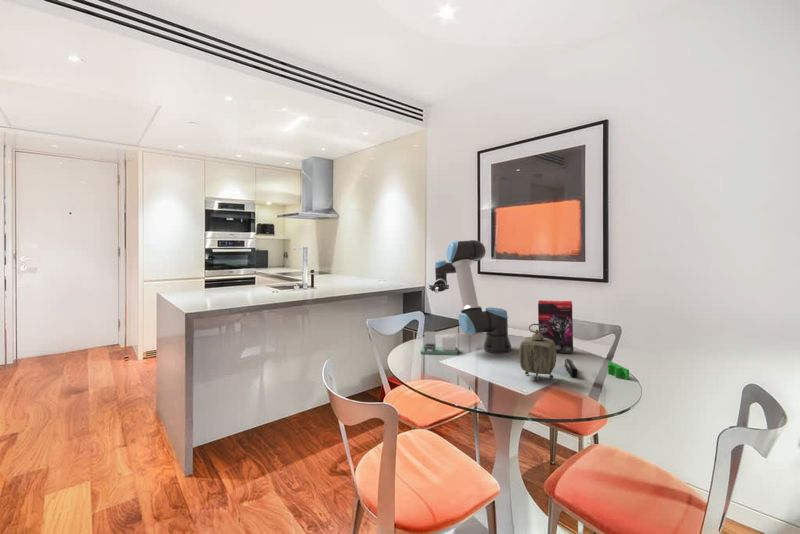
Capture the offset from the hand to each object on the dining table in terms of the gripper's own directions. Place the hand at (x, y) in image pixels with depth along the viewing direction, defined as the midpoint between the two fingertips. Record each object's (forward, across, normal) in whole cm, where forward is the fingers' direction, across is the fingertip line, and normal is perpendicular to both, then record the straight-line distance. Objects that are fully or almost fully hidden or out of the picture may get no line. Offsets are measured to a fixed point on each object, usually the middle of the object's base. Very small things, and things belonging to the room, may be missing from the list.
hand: (436, 290), depth 226 cm
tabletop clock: (+52, -49, -32) cm, 79 cm away
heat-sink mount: (+16, -2, -32) cm, 36 cm away
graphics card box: (+13, -64, -32) cm, 73 cm away
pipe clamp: (+46, -83, -32) cm, 100 cm away
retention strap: (+18, +3, -30) cm, 36 cm away
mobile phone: (+43, -65, -32) cm, 84 cm away
